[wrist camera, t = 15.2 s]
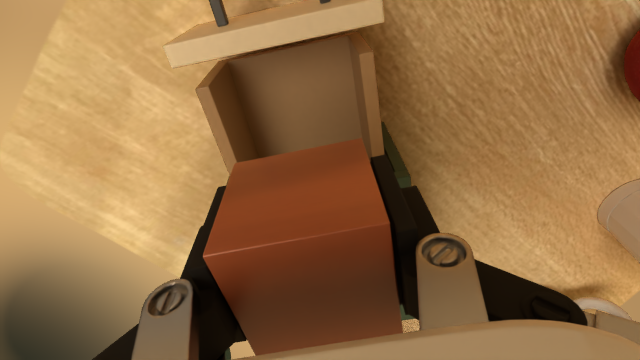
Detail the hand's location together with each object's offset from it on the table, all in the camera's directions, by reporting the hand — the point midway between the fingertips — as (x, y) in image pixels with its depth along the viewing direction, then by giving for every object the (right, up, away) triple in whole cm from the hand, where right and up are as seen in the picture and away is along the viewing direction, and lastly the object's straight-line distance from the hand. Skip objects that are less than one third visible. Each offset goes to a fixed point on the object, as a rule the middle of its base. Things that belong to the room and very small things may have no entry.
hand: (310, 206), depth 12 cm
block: (0, 0, 0) cm, 0 cm away
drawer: (-2, +10, +12) cm, 16 cm away
